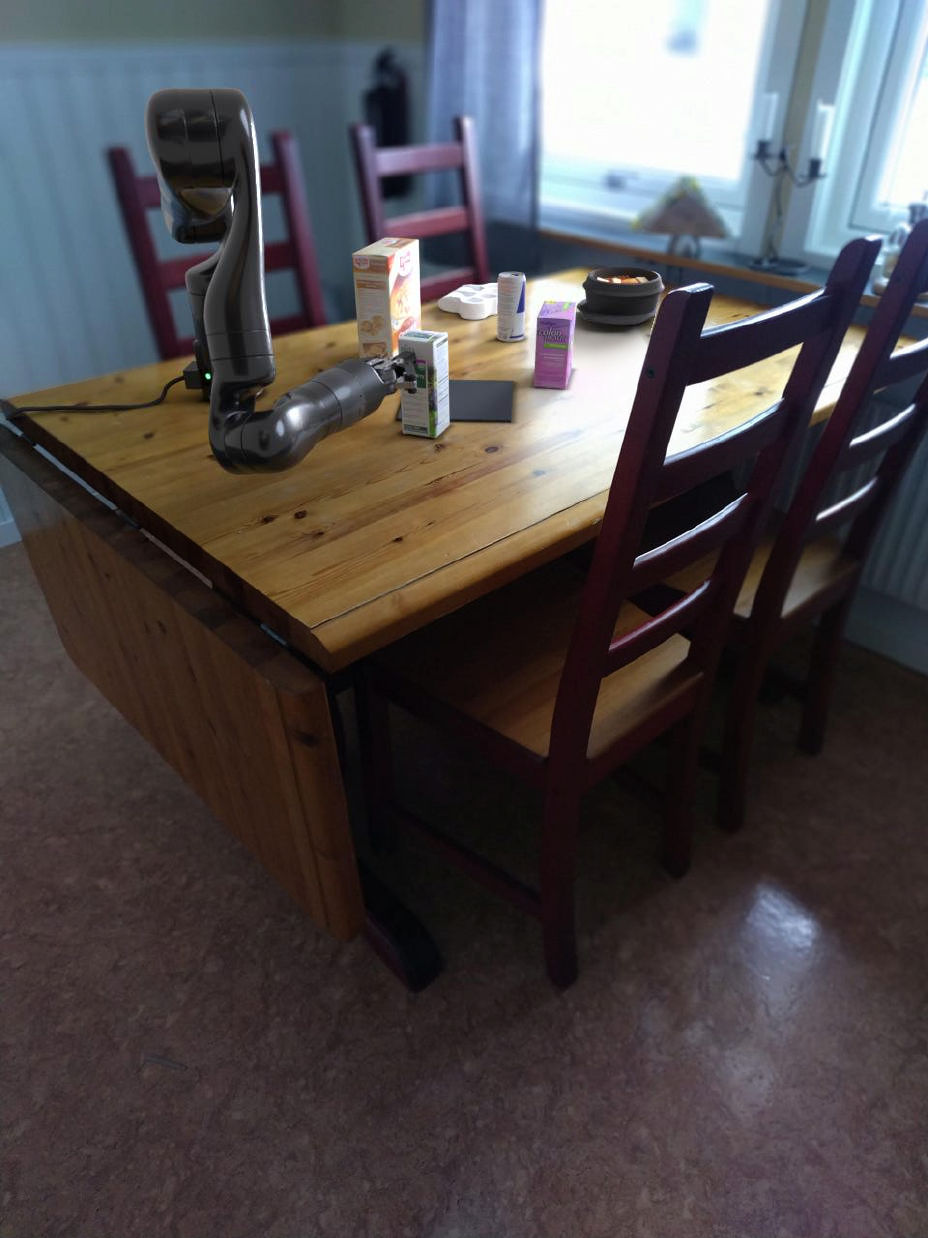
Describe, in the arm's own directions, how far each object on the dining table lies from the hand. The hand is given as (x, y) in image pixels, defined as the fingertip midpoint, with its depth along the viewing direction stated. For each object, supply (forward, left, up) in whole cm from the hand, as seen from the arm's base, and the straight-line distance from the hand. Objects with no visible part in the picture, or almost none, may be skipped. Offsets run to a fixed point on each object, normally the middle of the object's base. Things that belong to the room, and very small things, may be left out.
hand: (411, 358), depth 121 cm
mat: (+5, +16, -12) cm, 20 cm away
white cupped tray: (+6, +72, -12) cm, 73 cm away
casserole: (+36, +66, -12) cm, 76 cm away
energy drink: (+13, +50, -12) cm, 53 cm away
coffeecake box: (-9, +38, -12) cm, 41 cm away
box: (+21, +27, -12) cm, 37 cm away
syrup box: (+1, +3, -12) cm, 13 cm away
